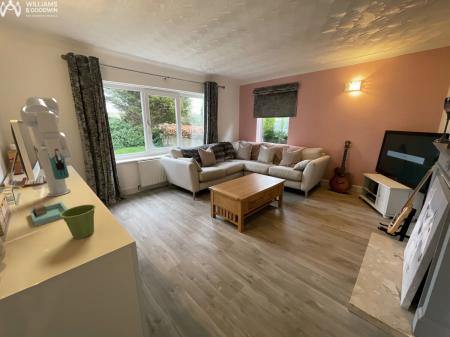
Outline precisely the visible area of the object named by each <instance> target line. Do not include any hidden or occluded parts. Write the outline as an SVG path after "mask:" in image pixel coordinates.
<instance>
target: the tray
mask: <svg viewBox="0 0 450 337" xmlns="http://www.w3.org/2000/svg"><path fill="white" fill-rule="evenodd" d="M44 206H45V207H46V211H47V213H46V214H43V215H40V216H36V215H34V212H33V209H30V210H29V214H30V217H31V218H32V219H31V220H32V222H33V225H34V227H38V226H41V225H44V224H47V223H51V222H53V221H56V220H60V219H63V217H60V214H61V213H62V212H63V211H65V210H67V209H68V207H66V206H65V204H64V203H63V202H62V201H61V202H56V203H53V204H48V205H44Z"/></svg>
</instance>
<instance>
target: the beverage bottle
mask: <svg viewBox="0 0 450 337" xmlns="http://www.w3.org/2000/svg"><path fill="white" fill-rule="evenodd" d="M62 154H63V152H62ZM60 155H61V154H60ZM48 156H49V153H48ZM55 157H57V156H55ZM61 158H62V160H63V163H64V167H65V169H64V170H59V171H58V170H57V168H56V164H55V163H56V162H55V159H54V157H53V158H50V156H49V160H50V163H51V167H52V171H53V176H54V178H55V179H56V180H59V179H65V180H66V179H67V178H69V177H70V174H69V171H68V170H69V169H68V167H67V162H66V161H65V159H64V155H63V156H61Z"/></svg>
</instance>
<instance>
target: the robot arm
mask: <svg viewBox="0 0 450 337" xmlns="http://www.w3.org/2000/svg"><path fill="white" fill-rule="evenodd" d="M59 111H60V106H59V102H57V100H56V99H55V98H53V97H43V96H40V97H38V96H32V97H29V98H27V99H26V101H25V105H24V106H22V107H20V113H19V116H20V119H21V121H22V124H24V126H25V127H29V128H31V130H32V134H33V136H34V139H35V142H36V144H37V146H38V147H39V148H42V149H40V150H38V151H37V152H36V156H37V157H36V158H37V159H38V161H39V162H40V166H41V169H42V171H43V173H44V178H45V182H46V184H47V187H48V191H49V192H47V194H46V195H47V197H49V198H50V197H59V196H64V195H66V194H68V193H70V192H71V189H70V188H68V186H67V183H66V178H65V179H59V180H56V179H55V178H54V176H53V171H52V167H51V163H50V160H49V156H50V158H53V157H54V159H55V162H56V163H55V164H56V168H57V170H58V171H59V170H64V169H65V167H64V163H63V160H62V158H61V156H63V155H64V159H65V162H66V161H70V160H72V159H73V153H72V150H71V146H70V143H69V141H68V138H67V136H66V135H65V134H64V133H63V132H60V129H59V126H58V125H59V123H60V120H59ZM62 152H63V154H62ZM48 153H49V156H48ZM60 154H61V155H60ZM55 156H57V157H55Z"/></svg>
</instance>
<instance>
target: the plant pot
mask: <svg viewBox="0 0 450 337" xmlns="http://www.w3.org/2000/svg"><path fill="white" fill-rule="evenodd" d="M96 207H97V206H96V205H95V204H81V205H78V206H73V207H70V208H67V210H65V211H63V212H62V213H61V214H60V217H63V218H62V219H63V221H64V222H65V224H66V225H67V228H68V229H69V231H70V233H71V236H72V237H73V238H74V239H75V240H80V239H84V238H87V237H88V236H91V235H93V234H94V232H95V209H96Z"/></svg>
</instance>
